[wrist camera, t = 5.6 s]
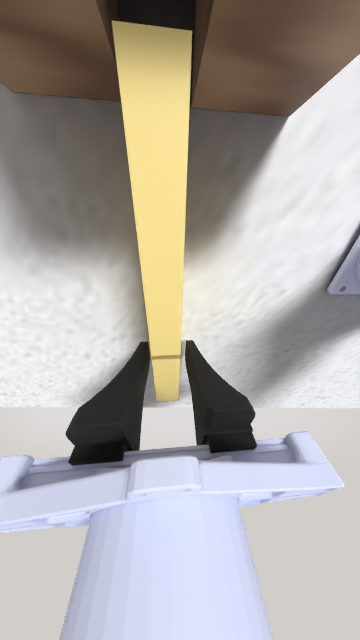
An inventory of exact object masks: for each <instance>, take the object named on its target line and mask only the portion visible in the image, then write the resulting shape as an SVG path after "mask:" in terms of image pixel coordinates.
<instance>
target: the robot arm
mask: <svg viewBox="0 0 360 640" xmlns="http://www.w3.org/2000/svg"><path fill="white" fill-rule="evenodd" d="M327 292H328V293H330V294H360V235H359V237H358V239H357V240H356V242H355V244H354V245H353V247H352V249H351V250H350V252H349V254H348V255H347V257H346V259H345V260H344V262H343V264H342V265H341V267H340V269H339V270H338V272H337V274H336V275H335V277H334V279H333V280H332V282H331V284H330V285H329V287H328V289H327ZM185 361H186V369H187V373H188V378H189V383H190V388H191V393H192V402H193V411H194V420H195V430H196V441H197V446H188V447H176V448H165V449H152V450H141V451H139V447H140V433H141V420H142V410H143V399H144V392H145V387H146V382H147V377H148V371H149V364H150V354H149V346H148V342H141V343H140V344H139V346H138V348H137V349H136V351H135V352H134V354H133V355H132V357H131V358H130V360H129V361H128V362H127V364H126V365H125V366H124V368H123V369H122V370H121V371H120V372H119V373H118V375H117V376H116V377H115V378H114V379H113V380H112V381H111V382H110V383H109V384H108V385H107V386H106V387H105V388H103V389H102V390H101V391H100V392H99V393H98V394H96V395H95V396H94V397H93V398H92V399H90V400H89V401H88V402H86V403H85V404H84V405H82V406H81V407H80V408H78V410H77V412H76V413H75V415H74V417H73V419H72V421H71V423H70V425H69V427H68V429H67V431H66V436H67V438H68V439H69V440H70V441H71V442H72V443H73V444H74V445H75V447H74V449H73V452H72V454H71V456H70V457H58V458H47V459H35V460H34V458H33V457H31V456H29V455H16V456H4V457H3V458H1V460H0V533H6V532H16V531H25V530H37V529H49V528H61V527H72V526H85V525H89V528H88V532H87V535H86V539H85V544H84V547H83V551H82V555H81V559H80V562H79V566H78V570H77V574H76V578H75V582H74V585H73V589H72V593H71V597H70V601H69V605H68V609H67V613H66V616H65V620H64V624H63V628H62V631H61V636H60V639H59V640H274V639H273V635H272V632H271V628H270V624H269V620H268V616H267V612H266V608H265V604H264V600H263V597H262V593H261V589H260V585H259V581H258V577H257V573H256V570H255V565H254V561H253V558H252V554H251V550H250V546H249V543H248V538H247V534H246V531H245V527H244V522H243V519H242V515H241V511H240V507H245V506H250V505H257V504H263V503H270V502H275V501H282V500H288V499H295V498H302V497H310V496H319V495H322V494H325V493H328V492H331V491H334V490H337V489H339V488H342V487H344V483H343V482H342V480H341V479H340V478H339V476H338V475H337V473H336V472H335V470H334V469H333V467H332V466H331V464H330V463H329V461H328V460H327V458H326V457H325V456H324V454H323V453H322V451H321V450H320V448H319V447H318V446H317V444H316V442H315V441H314V439H313V438H312V437H311V435H310V434H309V432H295V433H290V434H288V435H286V437H285V438H283V439H270V440H258V441H255V439H254V436H253V434H252V431H253V429H252V427H251V422H252V421H253V419H254V417H255V412H254V410H253V407H252V405H251V404H250V402H249V400H248V399H247V397H245V396H244V395H242V394H241V393H240V392H238V391H237V390H235V389H234V388H233V387H232V386H230V385H229V384H228V383H227V382H226V381H225V380H224V379H222V378H221V377H220V376H219V375H218V374H217V373H216V372H215V371H214V370H213V368H212V367H211V366H210V365H209V364H208V363H207V361H206V360H205V359H204V357H203V356H202V354H201V353H200V352H199V350H198V348H197V347H196V345H195V343H194V341H193V340H190V341H186V349H185Z"/></svg>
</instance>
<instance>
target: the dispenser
mask: <svg viewBox="0 0 360 640" xmlns="http://www.w3.org/2000/svg"><path fill="white" fill-rule="evenodd" d="M112 21H120V19H119V9H118V0H0V82H1V83H3V84H4V85H5V86H6V87H7V88H8V89H9V90H11V91H12V92H21V93H32V94H43V95H55V96H66V97H77V98H88V99H99V100H111V101H121V95H120V87H119V78H118V70H117V61H116V53H115V45H114V36H113V28H112ZM359 54H360V0H196V16H195V40H194V64H193V88H192V108H201V109H212V110H223V111H234V112H246V113H257V114H268V115H279V116H290V115H291V114H293V113H294V112H295V111H296V110H297V109H298V108H299V107H300V106H302V105H303V104H304V103H305V102H306V101H307V100H308V99H309V98H310V97H312V96H313V95H314V94H315V93H316V92H317V91H318V90H319V89H321V88H322V87H323V86H324V85H325V84H326V83H327V82H328V81H330V80H331V79H332V78H333V77H334V76H335V75H336V74H337V73H338V72H340V71H341V70H342V69H343V68H344V67H345V66H346V65H347V64H349V63H350V62H351V61H352V60H353V59H354V58H355V57H356V56H358V55H359Z"/></svg>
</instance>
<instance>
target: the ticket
mask: <svg viewBox="0 0 360 640" xmlns="http://www.w3.org/2000/svg"><path fill="white" fill-rule="evenodd" d="M112 28H113V36H114V45H115V53H116V61H117V70H118V78H119V87H120V95H121V104H122V112H123V121H124V129H125V138H126V146H127V155H128V163H129V172H130V180H131V189H132V197H133V206H134V214H135V223H136V231H137V240H138V248H139V257H140V265H141V273H142V282H143V290H144V299H145V307H146V316H147V324H148V333H149V341H150V350H151V354H150V358H151V360H152V367H153V375H154V384H155V392H156V401H157V402H161V401H177V400H179V384H180V359H181V328H182V300H183V273H184V245H185V217H186V189H187V162H188V134H189V106H190V78H191V51H192V31H190V30H182V29H175V28H167V27H159V26H151V25H143V24H136V23H128V22H120V21H112Z"/></svg>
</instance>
